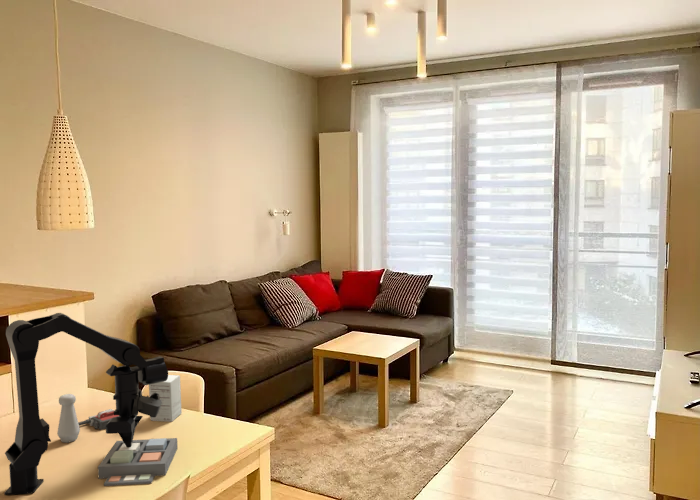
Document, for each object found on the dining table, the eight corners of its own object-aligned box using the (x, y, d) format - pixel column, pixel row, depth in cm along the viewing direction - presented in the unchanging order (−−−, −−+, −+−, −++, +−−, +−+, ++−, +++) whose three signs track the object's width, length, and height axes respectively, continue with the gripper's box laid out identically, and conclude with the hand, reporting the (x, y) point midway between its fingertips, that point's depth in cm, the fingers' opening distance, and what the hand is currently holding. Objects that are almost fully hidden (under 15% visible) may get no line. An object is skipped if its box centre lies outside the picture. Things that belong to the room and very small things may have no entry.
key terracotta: (157, 467, 150) (157, 459, 150) (139, 468, 150) (139, 460, 150) (161, 459, 155) (161, 452, 154) (143, 460, 154) (143, 453, 154)
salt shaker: (71, 444, 167) (69, 399, 166) (53, 443, 169) (50, 398, 167) (84, 436, 173) (82, 392, 172) (66, 435, 174) (64, 391, 173)
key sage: (128, 465, 149) (128, 457, 149) (110, 466, 149) (110, 458, 149) (133, 457, 154) (133, 450, 154) (115, 458, 153) (115, 451, 153)
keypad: (162, 482, 144) (161, 470, 144) (93, 486, 143) (92, 474, 142) (177, 448, 164) (177, 438, 164) (117, 451, 163) (116, 440, 162)
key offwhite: (136, 456, 156) (135, 449, 156) (118, 457, 156) (118, 450, 156) (140, 449, 161) (140, 442, 161) (123, 450, 160) (123, 443, 160)
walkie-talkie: (125, 413, 193) (62, 431, 178) (125, 400, 193) (61, 417, 178) (140, 419, 187) (75, 439, 172) (139, 405, 187) (75, 424, 172)
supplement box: (160, 412, 192) (159, 374, 191) (182, 413, 191) (181, 374, 190) (149, 421, 185) (147, 380, 184) (172, 422, 184) (170, 381, 183)
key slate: (163, 452, 157) (163, 444, 157) (146, 453, 157) (145, 445, 156) (166, 445, 161) (166, 438, 161) (150, 446, 161) (149, 438, 161)
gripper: (150, 399, 148) (152, 460, 150) (165, 377, 167) (167, 431, 168) (103, 401, 147) (106, 462, 149) (124, 378, 166) (126, 433, 167)
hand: (129, 446), depth 158 cm, fingers closed, pressing on key offwhite
